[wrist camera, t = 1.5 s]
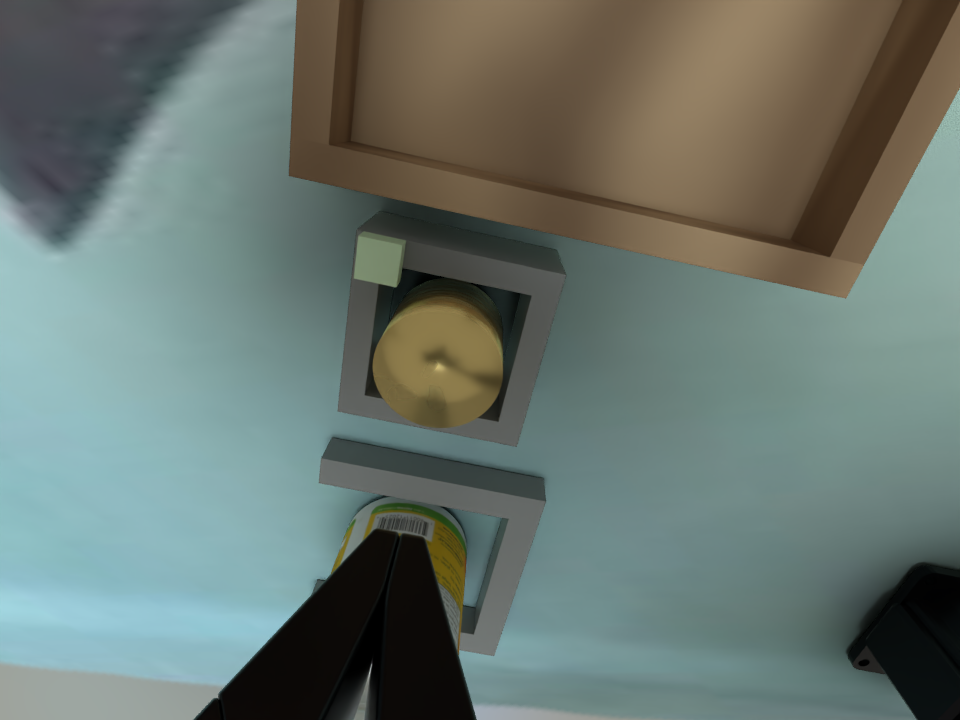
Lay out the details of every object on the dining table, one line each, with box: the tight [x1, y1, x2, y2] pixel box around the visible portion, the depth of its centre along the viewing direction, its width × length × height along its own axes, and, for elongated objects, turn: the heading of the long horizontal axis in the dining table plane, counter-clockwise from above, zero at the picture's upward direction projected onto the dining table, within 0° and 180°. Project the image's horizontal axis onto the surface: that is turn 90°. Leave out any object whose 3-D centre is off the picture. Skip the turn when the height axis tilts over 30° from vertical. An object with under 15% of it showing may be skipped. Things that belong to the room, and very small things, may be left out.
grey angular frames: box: [312, 211, 566, 656], centre depth 20 cm, size 9×19×4 cm, turn 168°
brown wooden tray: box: [289, 0, 960, 298], centre depth 14 cm, size 16×9×3 cm, turn 78°
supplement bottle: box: [331, 497, 467, 720], centre depth 19 cm, size 5×5×10 cm
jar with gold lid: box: [373, 278, 503, 428], centre depth 16 cm, size 4×4×3 cm
